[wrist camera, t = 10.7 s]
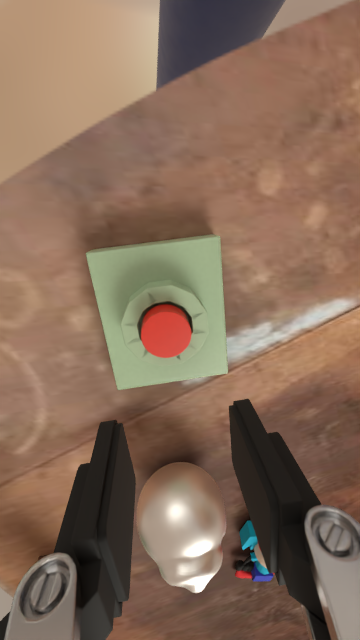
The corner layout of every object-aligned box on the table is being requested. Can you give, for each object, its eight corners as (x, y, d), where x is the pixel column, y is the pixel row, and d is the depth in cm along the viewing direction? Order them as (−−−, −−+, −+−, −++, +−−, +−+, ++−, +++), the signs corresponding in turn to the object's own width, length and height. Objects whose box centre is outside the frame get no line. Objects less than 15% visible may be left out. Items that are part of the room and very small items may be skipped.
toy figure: (276, 556, 42) (309, 504, 34) (287, 601, 37) (327, 553, 30) (226, 554, 41) (248, 500, 34) (231, 599, 37) (258, 550, 29)
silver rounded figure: (140, 507, 33) (136, 622, 24) (136, 446, 30) (129, 552, 20) (215, 500, 34) (239, 608, 24) (218, 440, 30) (248, 539, 21)
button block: (91, 249, 22) (79, 256, 18) (214, 233, 23) (226, 237, 19) (120, 376, 26) (114, 403, 23) (222, 361, 27) (233, 385, 23)
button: (137, 307, 20) (136, 315, 19) (186, 300, 21) (189, 308, 19) (145, 350, 22) (145, 361, 20) (190, 343, 22) (194, 354, 20)
